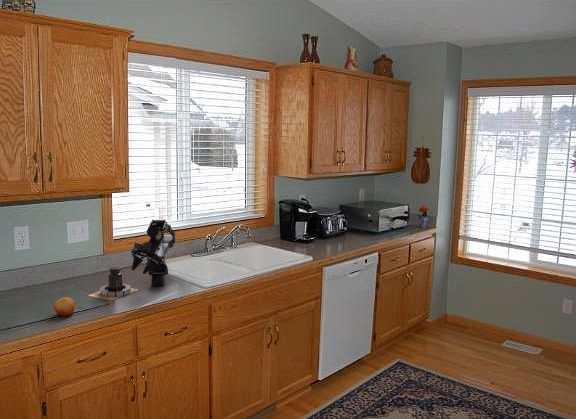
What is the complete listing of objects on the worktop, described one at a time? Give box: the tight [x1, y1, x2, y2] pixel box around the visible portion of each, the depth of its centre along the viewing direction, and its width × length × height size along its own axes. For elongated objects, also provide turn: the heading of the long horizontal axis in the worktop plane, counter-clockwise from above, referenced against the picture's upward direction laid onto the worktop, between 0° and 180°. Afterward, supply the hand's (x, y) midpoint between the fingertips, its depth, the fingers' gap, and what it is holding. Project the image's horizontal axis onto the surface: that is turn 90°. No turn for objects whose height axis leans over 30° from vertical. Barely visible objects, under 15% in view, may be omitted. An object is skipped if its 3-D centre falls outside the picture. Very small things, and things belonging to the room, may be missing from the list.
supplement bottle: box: [106, 266, 124, 291], centre depth 238 cm, size 7×7×12 cm
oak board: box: [87, 287, 139, 301], centre depth 239 cm, size 18×14×1 cm
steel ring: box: [99, 283, 132, 298], centre depth 238 cm, size 14×14×2 cm
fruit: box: [52, 296, 76, 317], centre depth 211 cm, size 8×8×8 cm
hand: (137, 271), depth 241 cm, fingers open, 9 cm apart
